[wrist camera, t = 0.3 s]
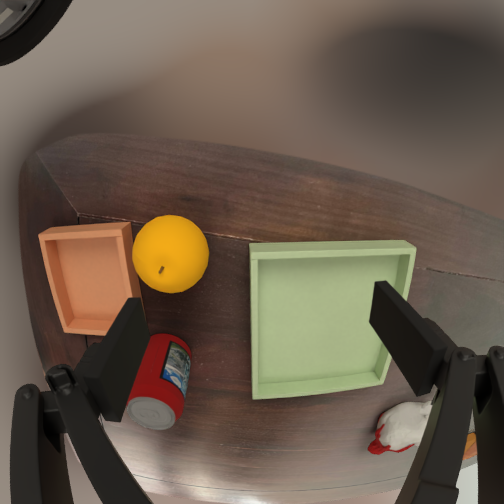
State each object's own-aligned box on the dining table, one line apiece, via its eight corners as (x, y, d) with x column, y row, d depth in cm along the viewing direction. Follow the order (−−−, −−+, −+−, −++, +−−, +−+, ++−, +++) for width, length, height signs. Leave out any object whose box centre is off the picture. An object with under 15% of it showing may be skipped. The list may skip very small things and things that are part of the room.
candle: (436, 390, 45) (388, 432, 52) (399, 384, 43) (349, 430, 49) (453, 425, 37) (398, 466, 44) (416, 426, 35) (357, 468, 41)
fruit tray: (249, 243, 34) (250, 252, 31) (404, 239, 35) (416, 247, 32) (251, 384, 42) (252, 399, 39) (376, 371, 42) (383, 384, 40)
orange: (225, 235, 34) (222, 259, 27) (188, 287, 36) (178, 321, 29) (164, 195, 32) (145, 209, 25) (131, 251, 34) (108, 278, 27)
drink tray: (51, 227, 32) (38, 234, 29) (130, 221, 33) (121, 229, 30) (73, 320, 37) (64, 332, 34) (147, 324, 37) (141, 337, 34)
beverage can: (194, 369, 40) (185, 435, 29) (148, 366, 40) (129, 430, 29) (190, 330, 38) (176, 397, 27) (140, 328, 38) (113, 391, 26)
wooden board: (461, 434, 56) (465, 442, 52) (512, 416, 59) (516, 422, 56) (436, 461, 60) (440, 469, 57) (491, 442, 63) (494, 447, 60)
